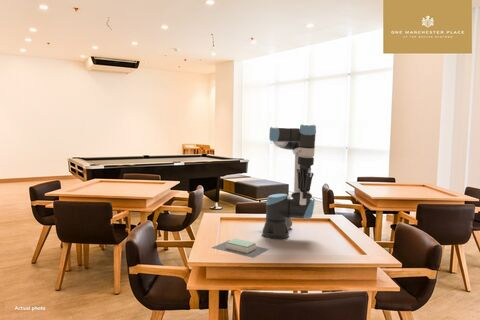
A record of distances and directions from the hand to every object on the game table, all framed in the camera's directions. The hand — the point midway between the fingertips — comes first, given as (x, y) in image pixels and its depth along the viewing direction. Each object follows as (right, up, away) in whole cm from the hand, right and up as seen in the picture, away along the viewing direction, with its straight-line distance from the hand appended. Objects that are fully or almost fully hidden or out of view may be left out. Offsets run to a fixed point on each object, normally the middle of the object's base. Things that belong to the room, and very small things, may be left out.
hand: (302, 204), depth 181 cm
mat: (-30, -22, +3) cm, 38 cm away
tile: (-25, -21, -1) cm, 33 cm away
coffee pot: (-9, -20, +48) cm, 53 cm away
